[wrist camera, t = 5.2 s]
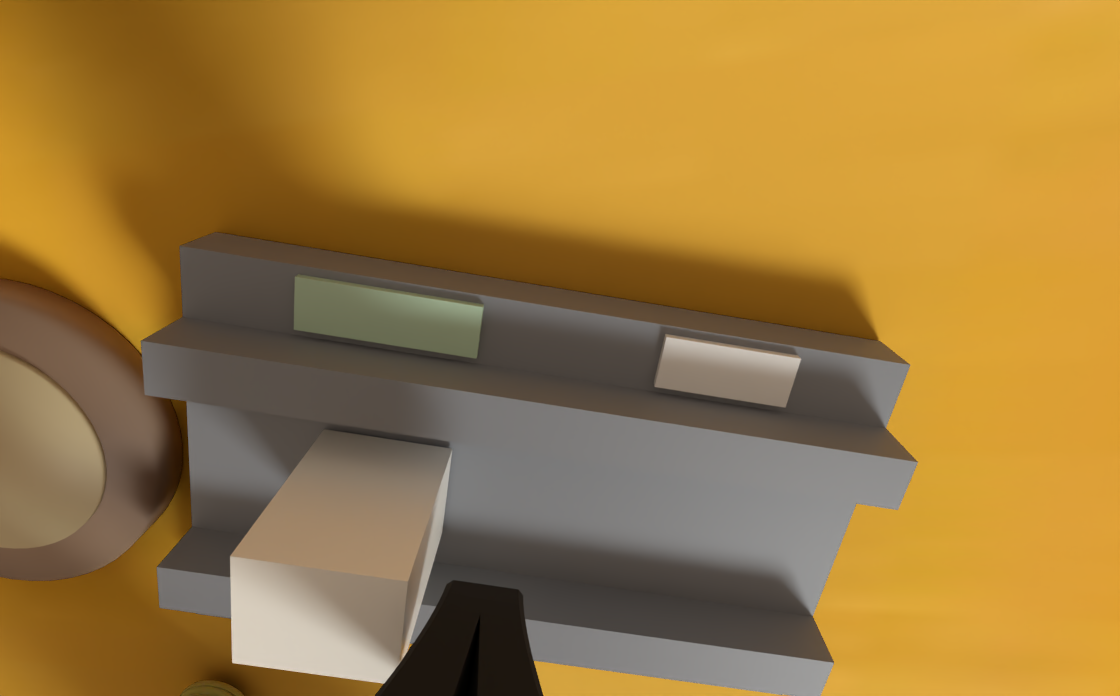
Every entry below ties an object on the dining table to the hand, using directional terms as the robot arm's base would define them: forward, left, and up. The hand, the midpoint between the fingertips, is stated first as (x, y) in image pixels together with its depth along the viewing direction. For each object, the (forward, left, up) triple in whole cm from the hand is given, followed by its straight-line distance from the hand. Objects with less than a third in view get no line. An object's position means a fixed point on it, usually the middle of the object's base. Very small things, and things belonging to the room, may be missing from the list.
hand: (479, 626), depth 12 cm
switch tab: (0, +3, -4) cm, 5 cm away
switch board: (0, 0, -6) cm, 6 cm away
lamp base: (-1, +13, -6) cm, 14 cm away
